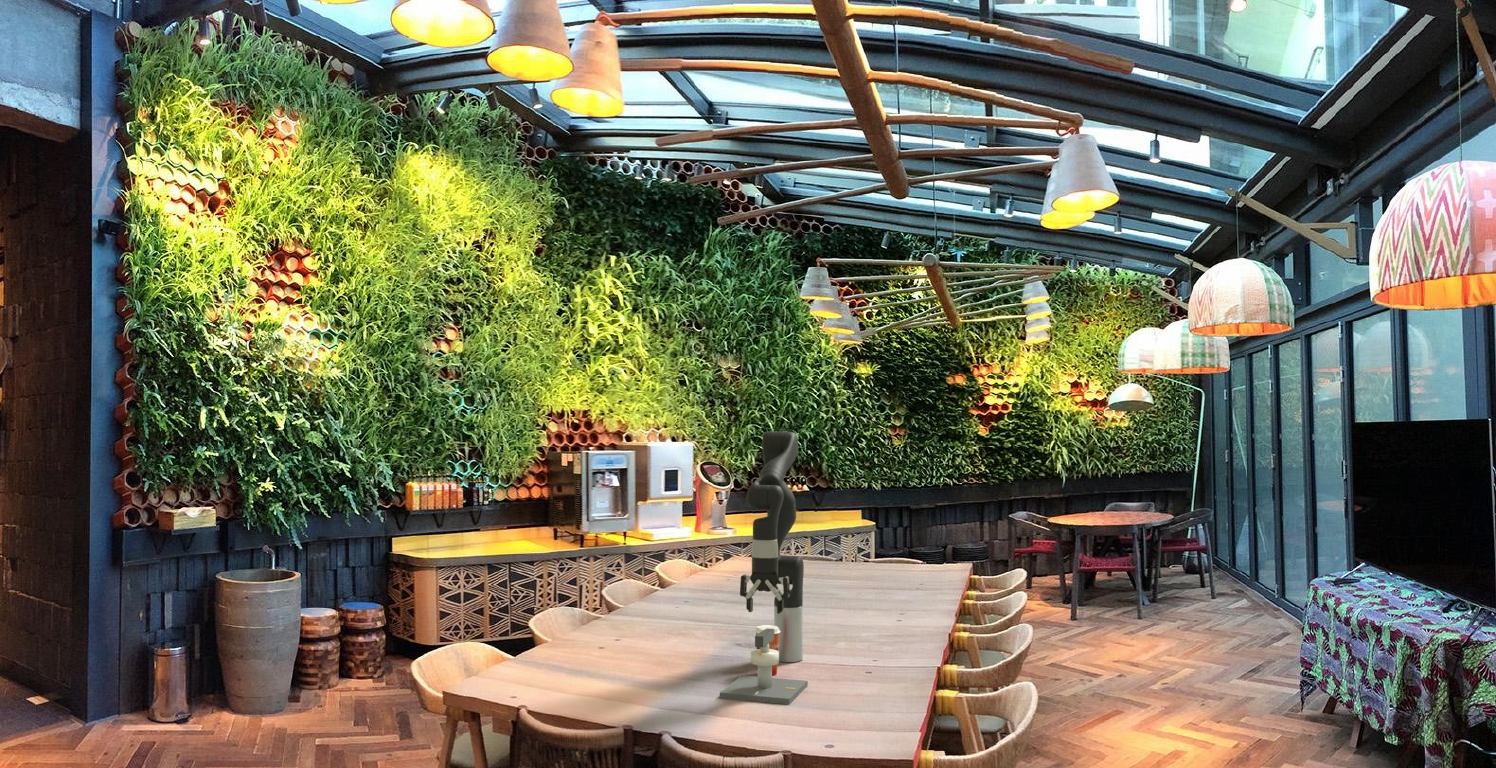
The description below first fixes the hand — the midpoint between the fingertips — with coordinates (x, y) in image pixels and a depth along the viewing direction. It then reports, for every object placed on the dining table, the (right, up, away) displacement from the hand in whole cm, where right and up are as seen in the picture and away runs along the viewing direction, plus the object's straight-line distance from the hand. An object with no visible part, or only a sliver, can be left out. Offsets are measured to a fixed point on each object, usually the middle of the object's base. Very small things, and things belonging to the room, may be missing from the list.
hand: (764, 612), depth 281 cm
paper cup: (+1, -23, +20) cm, 31 cm away
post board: (0, -22, -1) cm, 22 cm away
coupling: (0, -14, -1) cm, 14 cm away
